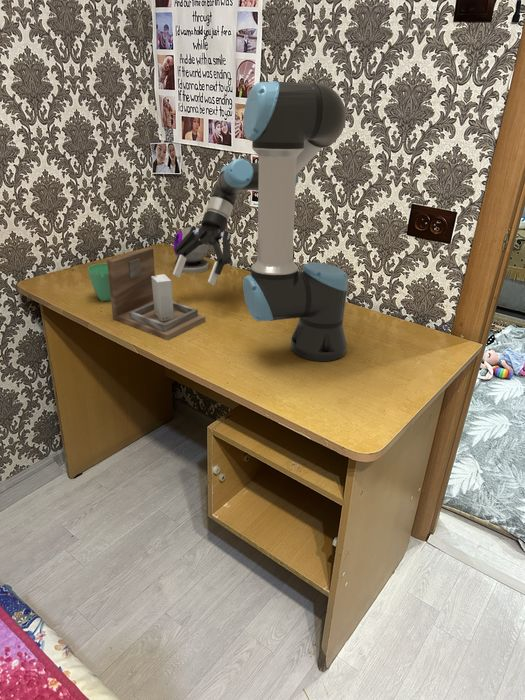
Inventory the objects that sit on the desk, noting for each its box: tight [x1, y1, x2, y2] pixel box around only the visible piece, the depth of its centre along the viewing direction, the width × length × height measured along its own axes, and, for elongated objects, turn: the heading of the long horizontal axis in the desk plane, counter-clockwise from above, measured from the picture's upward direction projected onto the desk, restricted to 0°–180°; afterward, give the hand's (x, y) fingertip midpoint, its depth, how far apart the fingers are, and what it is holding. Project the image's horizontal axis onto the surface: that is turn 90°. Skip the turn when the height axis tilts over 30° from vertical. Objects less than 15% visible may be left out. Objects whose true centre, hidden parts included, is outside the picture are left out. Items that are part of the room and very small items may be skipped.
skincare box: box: [151, 273, 174, 321], centre depth 153 cm, size 6×4×12 cm
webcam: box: [173, 226, 210, 274], centre depth 196 cm, size 13×13×15 cm
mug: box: [87, 262, 111, 302], centre depth 169 cm, size 15×10×10 cm
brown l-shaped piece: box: [106, 247, 206, 341], centre depth 153 cm, size 22×16×18 cm
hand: (193, 279), depth 160 cm, fingers open, 13 cm apart
